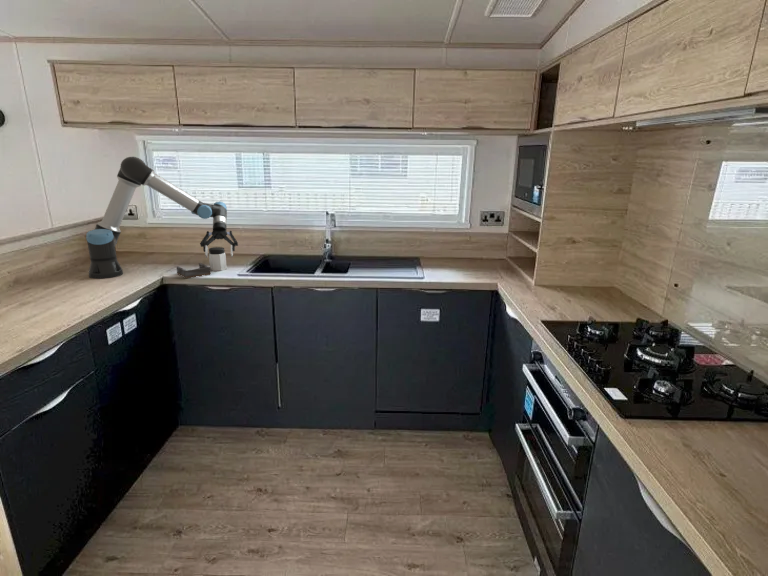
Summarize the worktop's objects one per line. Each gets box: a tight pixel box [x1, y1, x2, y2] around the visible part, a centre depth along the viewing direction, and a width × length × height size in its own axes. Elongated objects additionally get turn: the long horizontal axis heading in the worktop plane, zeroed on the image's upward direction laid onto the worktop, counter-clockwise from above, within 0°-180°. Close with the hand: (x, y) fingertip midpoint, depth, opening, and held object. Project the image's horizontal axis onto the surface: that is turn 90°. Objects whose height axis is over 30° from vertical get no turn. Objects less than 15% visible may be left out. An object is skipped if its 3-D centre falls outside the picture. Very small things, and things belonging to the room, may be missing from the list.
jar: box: [208, 246, 227, 272], centre depth 242 cm, size 9×8×12 cm
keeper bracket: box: [176, 262, 212, 279], centre depth 231 cm, size 13×13×4 cm
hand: (219, 255), depth 243 cm, fingers open, 13 cm apart
